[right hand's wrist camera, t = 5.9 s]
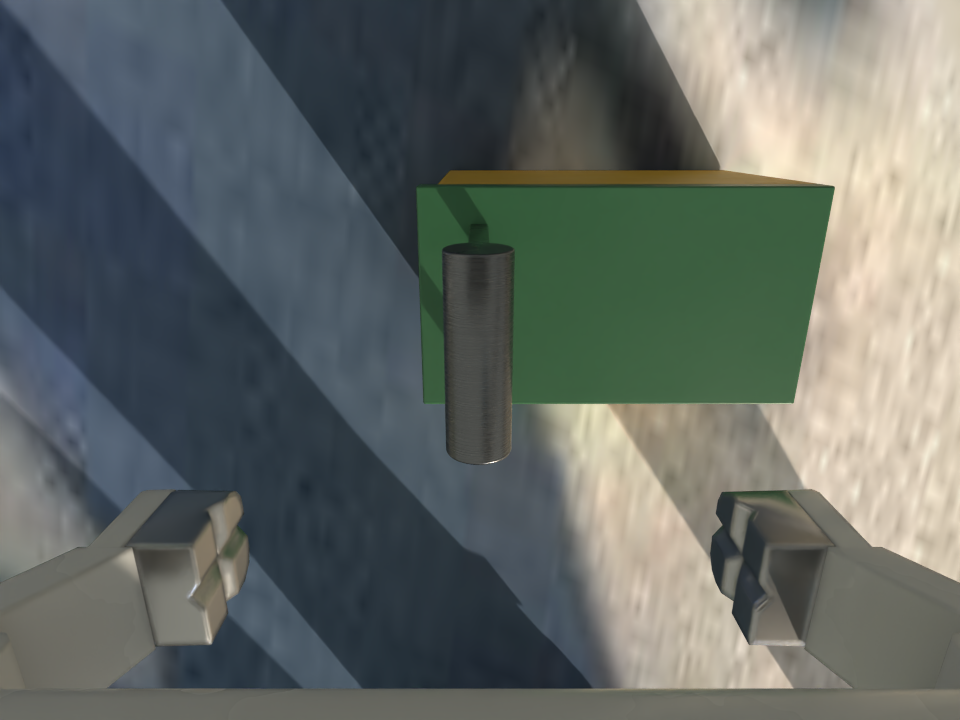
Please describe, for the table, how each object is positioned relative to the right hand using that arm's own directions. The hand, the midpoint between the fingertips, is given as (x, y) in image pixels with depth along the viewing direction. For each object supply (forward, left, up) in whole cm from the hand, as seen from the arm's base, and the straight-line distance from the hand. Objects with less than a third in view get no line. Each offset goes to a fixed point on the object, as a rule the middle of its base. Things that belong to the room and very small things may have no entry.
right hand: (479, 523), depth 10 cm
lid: (+3, +5, -16) cm, 17 cm away
